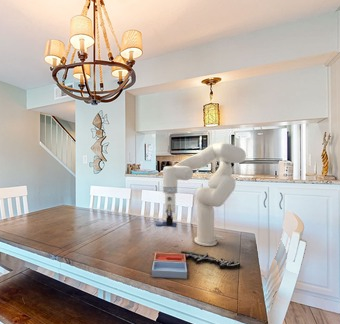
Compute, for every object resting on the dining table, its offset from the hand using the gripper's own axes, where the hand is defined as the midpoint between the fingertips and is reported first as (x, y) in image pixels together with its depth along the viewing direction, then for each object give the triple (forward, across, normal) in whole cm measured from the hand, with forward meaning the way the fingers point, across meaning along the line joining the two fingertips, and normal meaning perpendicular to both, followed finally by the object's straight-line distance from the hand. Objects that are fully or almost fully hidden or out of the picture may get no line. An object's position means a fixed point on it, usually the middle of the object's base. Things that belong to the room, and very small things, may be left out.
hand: (169, 224), depth 109 cm
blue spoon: (+1, 0, +2) cm, 2 cm away
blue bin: (+14, -22, -1) cm, 25 cm away
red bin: (+14, -13, -1) cm, 19 cm away
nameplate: (+13, -9, -19) cm, 25 cm away
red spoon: (+13, -13, -1) cm, 18 cm away
